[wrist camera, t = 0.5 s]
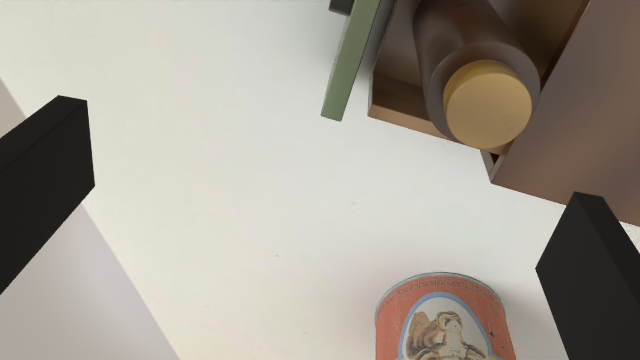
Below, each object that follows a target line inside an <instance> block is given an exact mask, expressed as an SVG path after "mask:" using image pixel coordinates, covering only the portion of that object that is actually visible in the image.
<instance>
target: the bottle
mask: <svg viewBox="0 0 640 360" xmlns="http://www.w3.org/2000/svg"><path fill="white" fill-rule="evenodd" d="M412 28H413V36H414V42H415V47H416V53H417V59H418V64H419V70H420V76H421V81H422V87H423V93H424V98H425V104H426V109H427V113H428V116H429V118H430V120H431V122H432V123H433V125H434V126H435V127H436V129H437V130H438V131H439V132H440V133H442V134H443V135H444V136H446V137H447V138H449V139H451V140H453V141H455V142H458V143H462V144H466V145H468V146H471V147H474V148H481V149H488V148H495V147H499V146H502V145H504V144H506V143H508V142H510V141H512V140H513V139H514V138H516V137H517V136H518V135H519V134H520V133H521V132H522V131H523V130H524V128H525V127H526V125H527V124H528V121H529V119H530V118H531V116H532V114H533V113H534V111H535V109H536V107H537V104H538V101H539V97H540V91H541V83H540V77H539V73H538V70H537V68H536V66H535V64H534V63H533V61H532V60H531V58H530V57H529V56H528V54H527V53H526V52H525V50H524V49H523V48H522V46H521V45H520V43H519V42H518V41H517V39H516V38H515V37H514V35H513V34H512V33H511V31H510V30H509V28H508V27H507V26H506V24H505V23H504V22H503V20H502V19H501V18H500V16H499V15H498V13H497V12H496V11H495V9H494V8H493V7H492V5H491V4H490V3H489V1H488V0H422V1H421V2H420V4H419V5H418V7H417V9H416V11H415V14H414V18H413V26H412Z"/></svg>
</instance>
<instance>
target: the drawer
mask: <svg viewBox="0 0 640 360" xmlns="http://www.w3.org/2000/svg"><path fill="white" fill-rule="evenodd" d="M380 1H381V0H331V1H330V5H329V11H332V12H335V13H338V14H341V15H345V16H348V17H347V20H346V23H345V27H344V30H343V33H342V37H341V40H340V43H339V47H338V50H337V54H336V57H335V60H334V64H333V67H332V70H331V74H330V77H329V82H328V86H327V90H326V94H325V99H324V103H323V107H322V111H321V116H322V117H326V118H329V119H333V120H336V121H339V122H341V120H342V117H343V114H344V111H345V108H346V105H347V102H348V99H349V96H350V93H351V90H352V87H353V84H354V81H355V77H356V74H357V71H358V68H359V65H360V62H361V59H362V56H363V53H364V50H365V47H366V44H367V41H368V38H369V35H370V32H371V29H372V26H373V23H374V20H375V16H376V13H377V10H378V7H379V4H380ZM421 1H422V0H396V3H395V5H394V8H393V11H392V14H391V17H390V20H389V23H388V26H387V29H386V32H385V34H384V37H383V40H382V43H381V46H380V49H379V52H378V55H377V58H376V61H375V64H374V66H373V69H372V72H371V75H370V78H369V96H368V114H367V115H368V116H369V117H372V118H375V119H379V120H382V121H386V122H389V123H392V124H396V125H399V126H402V127H406V128H409V129H413V130H416V131H419V132H423V133H426V134H430V135H433V136H436V137H440V138H443V139H447V140H450V141H453V140H451V139H449V138H447V137H446V136H444V135H443V134H442V133H440V132H439V131H438V130H437V129H436V127H435V126H434V125H433V123H432V122H431V120H430V118H429V116H428V113H427V109H426V104H425V98H424V93H423V87H422V81H421V76H420V70H419V64H418V59H417V53H416V47H415V42H414V36H413V28H412V26H413V18H414V14H415V11H416V9H417V7H418V5H419V4H420V2H421ZM488 1H489V3H490V4H491V5H492V7H493V8H494V9H495V11H496V12H497V13H498V15H499V16H500V18H501V19H502V20H503V22H504V23H505V24H506V26H507V27H508V28H509V30H510V31H511V33H512V34H513V35H514V37H515V38H516V39H517V41H518V42H519V43H520V45H521V46H522V48H523V49H524V50H525V52H526V53H527V54H528V56H529V57H530V58H531V60H532V61H533V63H534V64H535V66H536V68H537V70H538V73H539V77H540V80H541V78H542V76H543V74H544V72H545V70H546V68H547V67H548V65H549V63H550V61H551V59H552V57H553V55H554V54H555V52H556V50H557V48H558V46H559V44H560V42H561V40H562V39H563V37H564V35H565V33H566V31H567V29H568V27H569V26H570V24H571V22H572V20H573V18H574V16H575V14H576V13H577V11H578V9H579V7H580V5H581V3H582V1H583V0H488ZM453 142H455V141H453ZM457 143H458V142H457ZM460 144H462V143H460ZM463 145H466V144H463ZM505 145H506V144H504V145H502V146H499V147H495V148H488V149H481V148H477V149H480V150H484V151H487V152H491V153H494V154H497V155H500V154H501V152H502V150H503V149H504V147H505ZM467 146H468V145H467ZM470 147H471V146H470Z"/></svg>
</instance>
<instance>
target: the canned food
mask: <svg viewBox="0 0 640 360" xmlns="http://www.w3.org/2000/svg"><path fill="white" fill-rule="evenodd" d="M375 326H376V360H516V357H515V353H514V350H513V346H512V342H511V338H510V335H509V331H508V327H507V323H506V318H505V311H504V308H503V305H502V303H501V301H500V299H499V298H498V296H497V295H496V294H495V293H494V292H493V291H492V290H491V289H490V288H489V287H487V286H486V285H484V284H483V283H481V282H479V281H477V280H475V279H472V278H469V277H466V276H463V275H458V274H452V273H430V274H424V275H419V276H415V277H412V278H409V279H407V280H405V281H402V282H401V283H399V284H397V285H396V286H394V287H393V288H391V289H390V290H389V291H388V292H387V293H386V294H385V295H384V296H383V298H382V299H381V300H380V302H379V304H378V306H377V309H376V313H375Z"/></svg>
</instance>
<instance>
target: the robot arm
mask: <svg viewBox="0 0 640 360" xmlns="http://www.w3.org/2000/svg"><path fill="white" fill-rule="evenodd" d="M94 187H95V182H94V171H93V161H92V150H91V139H90V128H89V118H88V107H87V100H82V99H76V98H71V97H65V96H60V95H58V96H57V97H55V98H54V99H53V100H51V101H50V102H49V103H47V104H46V105H45V106H43V107H42V108H41V109H39V110H38V111H37V112H35V113H34V114H32V115H31V116H30V117H28V118H27V119H26V120H24V121H23V122H22V123H20V124H19V125H18V126H16V127H15V128H14V129H12V130H11V131H9V132H8V133H7V134H5V135H4V136H3V137H1V138H0V295H1V294H2V292H3V291H4V290H5V289H6V288H7V287H8V286H9V284H10V283H11V282H12V281H13V280H14V279H15V278H16V276H17V275H18V274H19V273H20V272H21V271H22V270H23V268H24V267H25V266H26V265H27V264H28V262H29V261H30V260H31V259H32V258H33V257H34V256H35V254H36V253H37V252H38V251H39V250H40V249H41V248H42V247H43V245H44V244H45V243H46V242H47V241H48V240H49V238H50V237H51V236H52V235H53V234H54V233H55V231H56V230H57V229H58V228H59V227H60V226H61V225H62V224H63V222H64V221H65V220H66V219H67V218H68V217H69V215H70V214H71V213H72V212H73V211H74V210H75V209H76V207H77V206H78V205H79V204H80V203H81V202H82V201H83V199H84V198H85V197H86V196H87V195H88V194H89V192H90V191H91V190H92V189H93V188H94ZM535 269H536V272H537V275H538V277H539V280H540V283H541V286H542V288H543V291H544V294H545V296H546V299H547V302H548V304H549V307H550V310H551V312H552V315H553V318H554V320H555V323H556V326H557V329H558V331H559V334H560V337H561V339H562V342H563V345H564V347H565V350H566V353H567V355H568V358H569V360H640V253H639V252H638V250H637V249H636V247H635V246H634V244H633V243H632V241H631V240H630V238H629V236H628V235H627V233H626V232H625V230H624V229H623V227H622V226H621V224H620V223H619V221H618V219H617V218H616V216H615V215H614V213H613V212H612V210H611V209H610V207H609V206H608V204H607V203H606V201H605V199H604V198H603V197H602V196H597V195H592V194H586V193H581V192H576V191H574V192H573V194H572V196H571V198H570V200H569V202H568V204H567V206H566V208H565V210H564V212H563V214H562V216H561V218H560V220H559V222H558V224H557V226H556V228H555V230H554V232H553V234H552V236H551V238H550V240H549V242H548V244H547V246H546V248H545V250H544V252H543V254H542V256H541V258H540V260H539V262H538V264H537V266H536V268H535Z"/></svg>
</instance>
